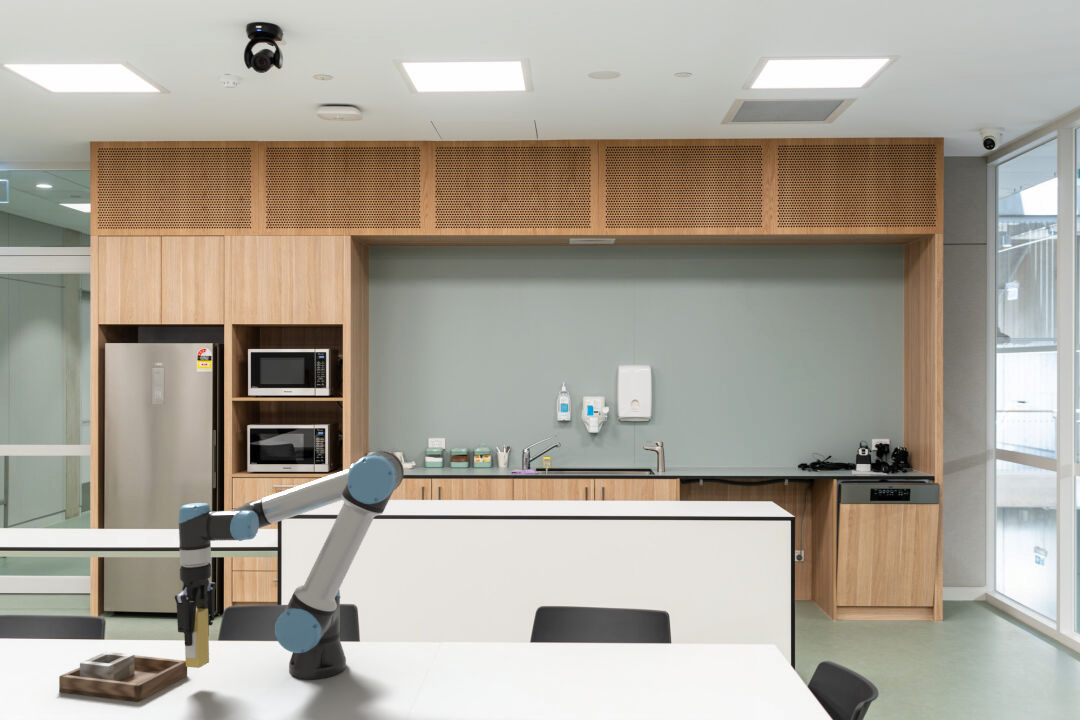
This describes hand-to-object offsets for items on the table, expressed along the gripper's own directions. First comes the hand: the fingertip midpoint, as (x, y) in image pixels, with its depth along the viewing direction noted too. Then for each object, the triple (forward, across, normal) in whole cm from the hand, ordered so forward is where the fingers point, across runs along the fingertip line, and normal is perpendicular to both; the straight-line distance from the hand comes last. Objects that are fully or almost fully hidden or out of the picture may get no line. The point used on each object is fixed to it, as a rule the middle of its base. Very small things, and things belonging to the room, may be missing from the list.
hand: (197, 654), depth 214 cm
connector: (+3, 0, 0) cm, 3 cm away
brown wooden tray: (+8, +3, -20) cm, 22 cm away
